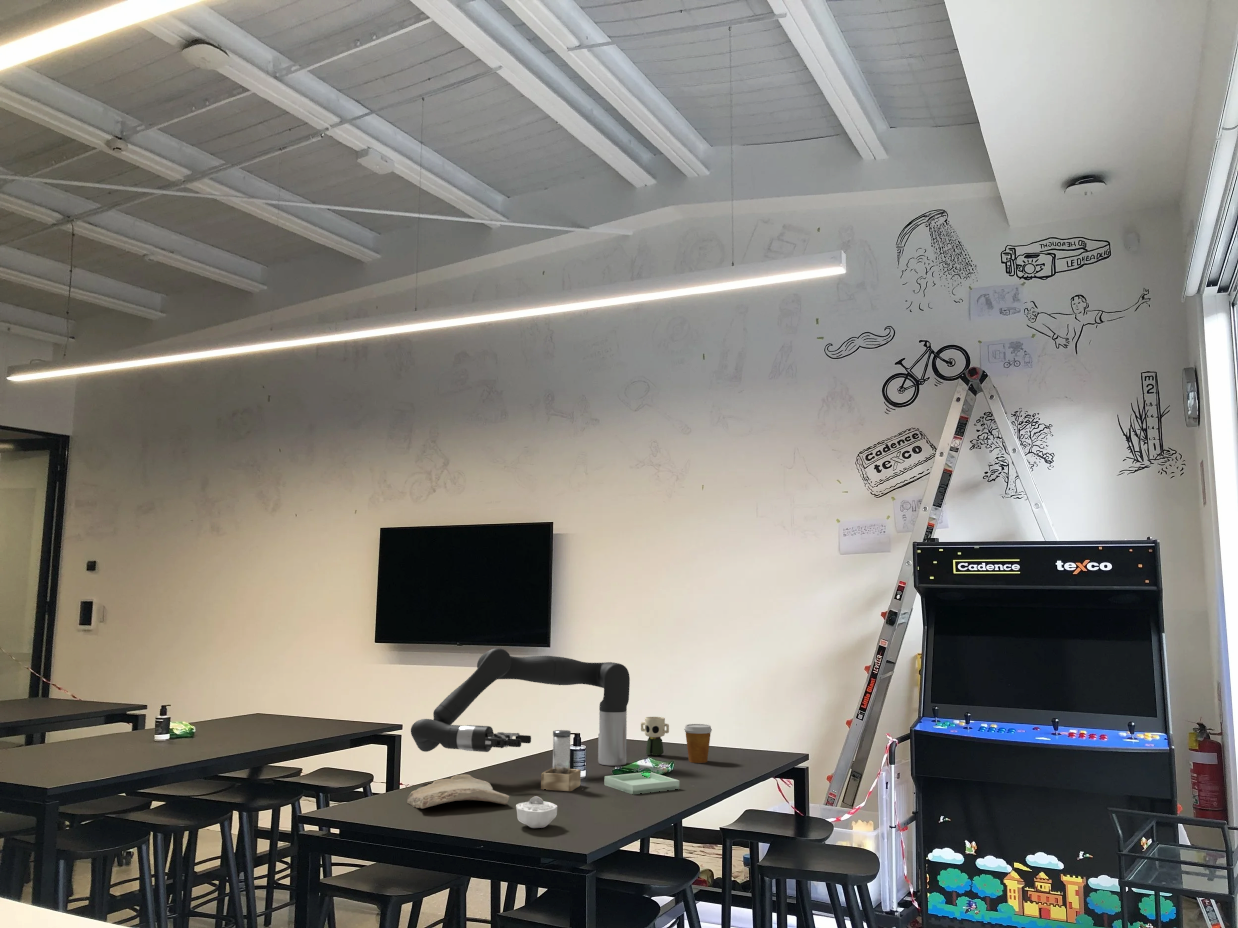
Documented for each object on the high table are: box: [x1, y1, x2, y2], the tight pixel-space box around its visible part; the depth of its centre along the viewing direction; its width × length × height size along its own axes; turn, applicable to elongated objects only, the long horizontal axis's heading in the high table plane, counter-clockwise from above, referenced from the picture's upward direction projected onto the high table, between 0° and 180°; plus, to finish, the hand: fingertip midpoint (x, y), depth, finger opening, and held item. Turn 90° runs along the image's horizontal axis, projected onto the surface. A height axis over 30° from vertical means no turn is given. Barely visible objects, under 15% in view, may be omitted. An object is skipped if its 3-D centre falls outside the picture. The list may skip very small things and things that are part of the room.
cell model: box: [515, 795, 558, 829], centre depth 236 cm, size 10×12×7 cm
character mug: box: [640, 716, 670, 757], centre depth 345 cm, size 11×7×13 cm, turn 64°
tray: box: [604, 771, 680, 795], centre depth 286 cm, size 16×16×2 cm
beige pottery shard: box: [406, 774, 510, 809], centre depth 261 cm, size 24×8×20 cm
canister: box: [552, 729, 572, 774], centre depth 286 cm, size 5×5×16 cm
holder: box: [540, 767, 582, 792], centre depth 285 cm, size 9×9×4 cm
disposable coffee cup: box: [683, 723, 713, 764], centre depth 332 cm, size 10×10×12 cm
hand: (525, 741), depth 289 cm, fingers open, 8 cm apart
